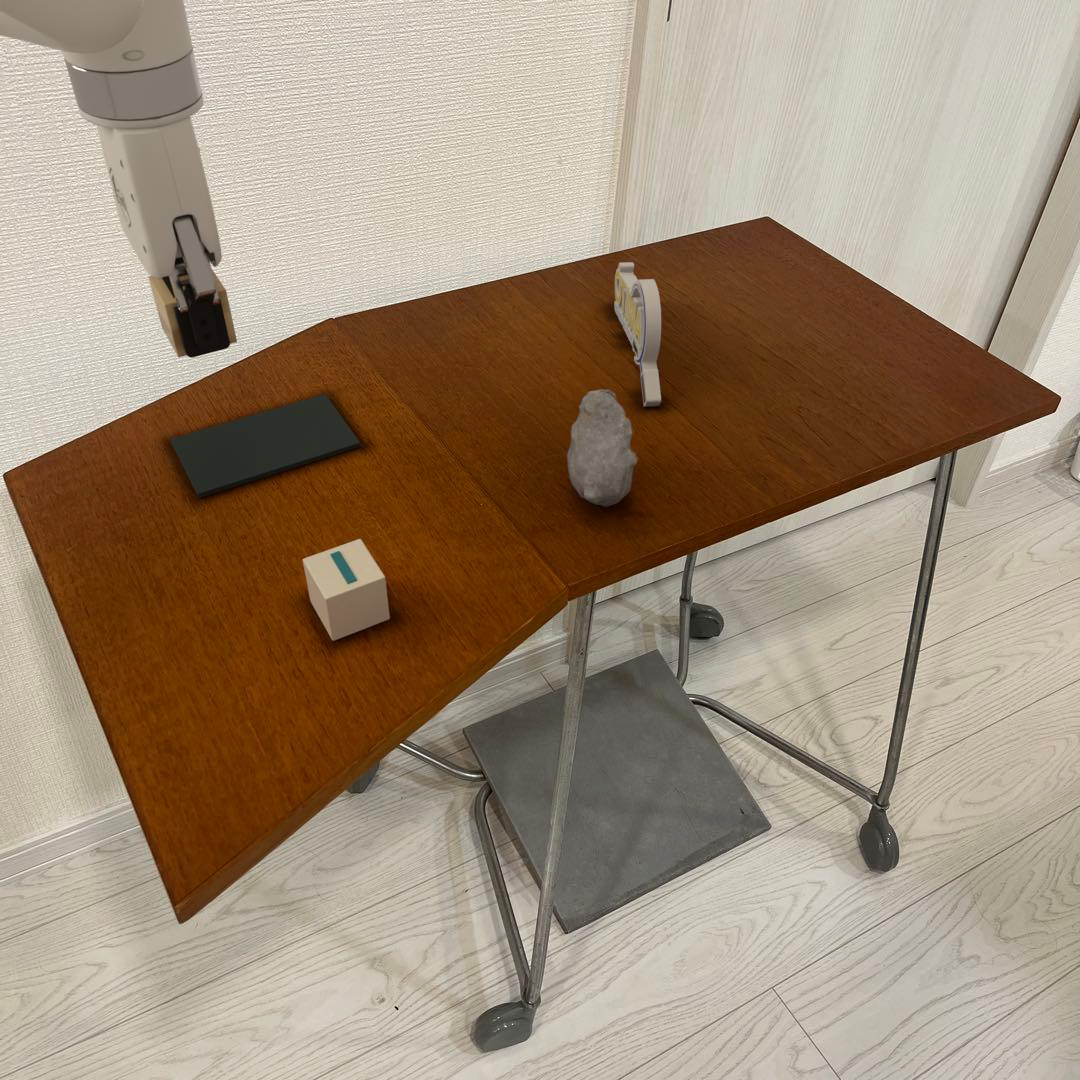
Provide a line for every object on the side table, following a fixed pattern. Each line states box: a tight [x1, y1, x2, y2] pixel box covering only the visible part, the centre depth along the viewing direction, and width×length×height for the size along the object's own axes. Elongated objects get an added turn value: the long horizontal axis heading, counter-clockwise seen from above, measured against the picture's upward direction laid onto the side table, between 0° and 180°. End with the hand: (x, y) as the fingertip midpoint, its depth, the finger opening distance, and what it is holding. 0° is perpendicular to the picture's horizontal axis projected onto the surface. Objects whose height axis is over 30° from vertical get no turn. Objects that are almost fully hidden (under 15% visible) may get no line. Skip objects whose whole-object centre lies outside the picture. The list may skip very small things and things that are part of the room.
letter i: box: [302, 538, 391, 642], centre depth 72 cm, size 4×4×4 cm
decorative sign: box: [613, 261, 662, 408], centre depth 96 cm, size 18×1×10 cm, turn 6°
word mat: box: [169, 393, 361, 499], centre depth 86 cm, size 14×8×1 cm, turn 120°
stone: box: [566, 389, 639, 508], centre depth 80 cm, size 9×7×10 cm
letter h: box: [147, 267, 238, 358], centre depth 74 cm, size 4×4×4 cm
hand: (197, 331), depth 76 cm, fingers closed on letter h, 4 cm apart
